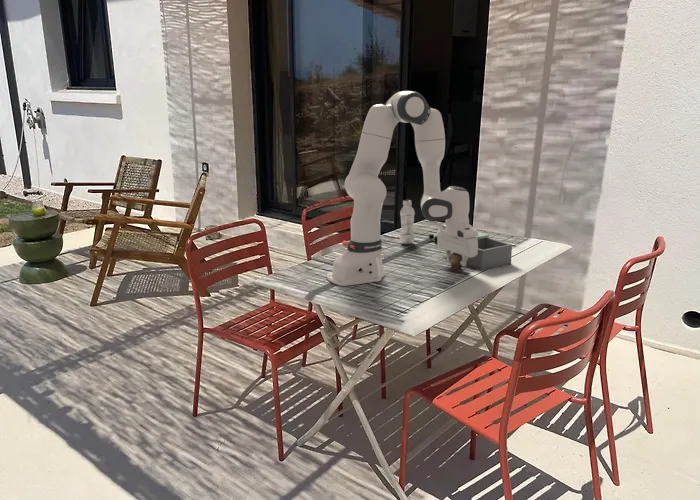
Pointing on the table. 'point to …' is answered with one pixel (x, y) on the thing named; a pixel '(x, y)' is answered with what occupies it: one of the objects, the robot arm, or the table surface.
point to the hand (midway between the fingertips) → (456, 263)
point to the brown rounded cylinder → (456, 261)
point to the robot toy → (434, 236)
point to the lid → (481, 235)
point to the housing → (491, 254)
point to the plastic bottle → (407, 223)
